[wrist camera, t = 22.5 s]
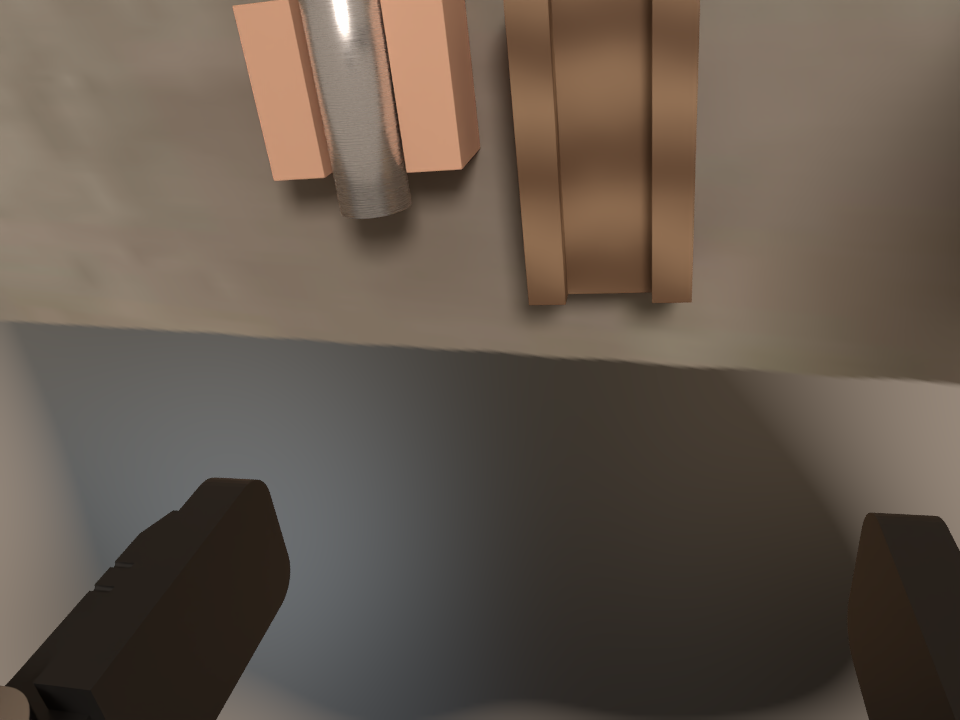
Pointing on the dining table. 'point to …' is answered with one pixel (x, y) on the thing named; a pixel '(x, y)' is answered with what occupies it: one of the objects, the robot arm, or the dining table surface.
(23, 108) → the dining table surface
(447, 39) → the terracotta cradle
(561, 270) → the wooden channel bracket
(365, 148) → the steel axle
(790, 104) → the dining table surface
